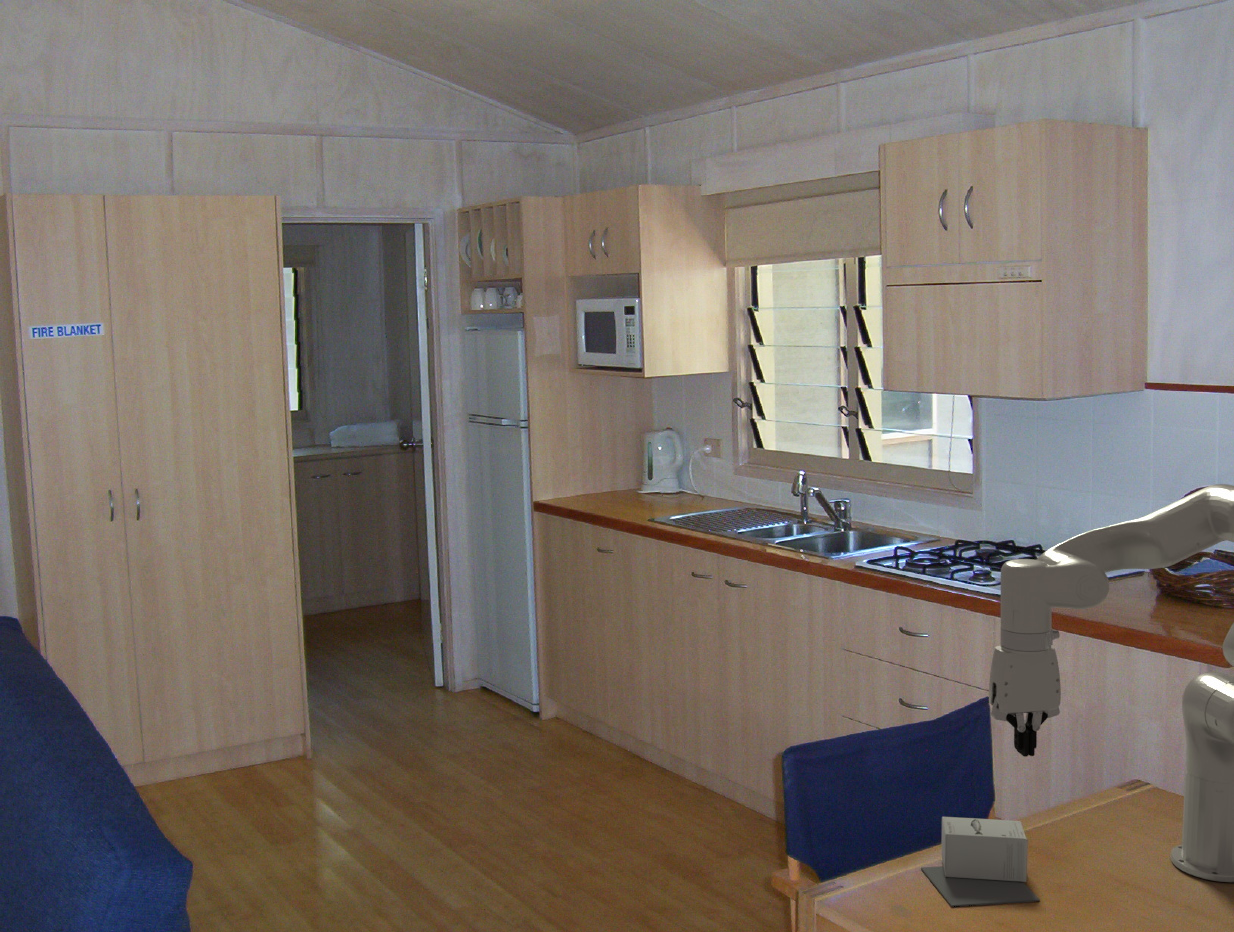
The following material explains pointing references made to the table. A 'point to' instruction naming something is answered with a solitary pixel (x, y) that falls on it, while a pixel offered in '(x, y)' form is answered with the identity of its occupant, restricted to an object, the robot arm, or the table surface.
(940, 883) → the mat
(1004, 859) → the supplement box
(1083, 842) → the table surface
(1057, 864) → the table surface
